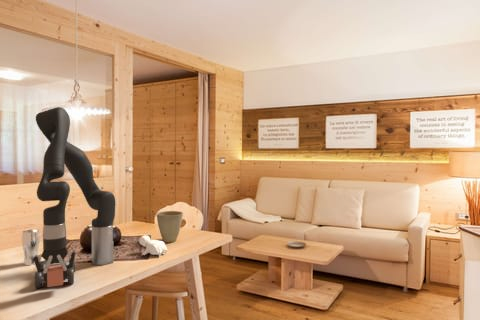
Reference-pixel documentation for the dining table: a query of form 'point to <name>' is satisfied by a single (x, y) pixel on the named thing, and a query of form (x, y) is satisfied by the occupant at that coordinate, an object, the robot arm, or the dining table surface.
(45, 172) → the robot arm
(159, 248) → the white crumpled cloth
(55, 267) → the terracotta rectangular box
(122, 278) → the dining table surface
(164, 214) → the plant pot
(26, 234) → the beer glass
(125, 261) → the dining table surface
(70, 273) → the chassis
